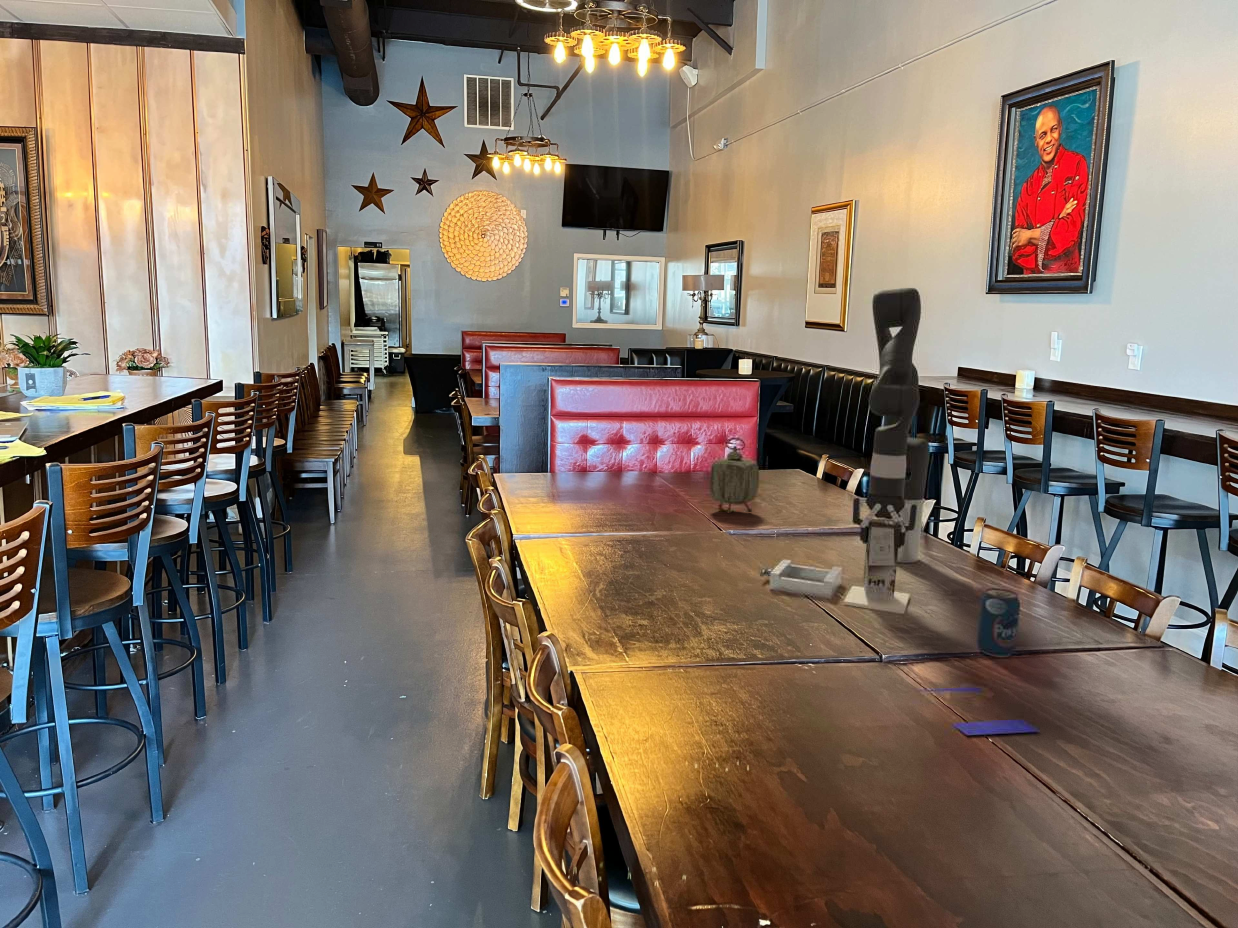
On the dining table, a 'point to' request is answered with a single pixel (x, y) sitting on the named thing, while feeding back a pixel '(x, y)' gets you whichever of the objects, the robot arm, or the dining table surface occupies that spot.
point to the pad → (877, 601)
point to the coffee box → (881, 558)
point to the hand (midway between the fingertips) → (881, 544)
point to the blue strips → (989, 726)
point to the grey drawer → (804, 579)
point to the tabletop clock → (734, 479)
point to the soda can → (998, 622)
